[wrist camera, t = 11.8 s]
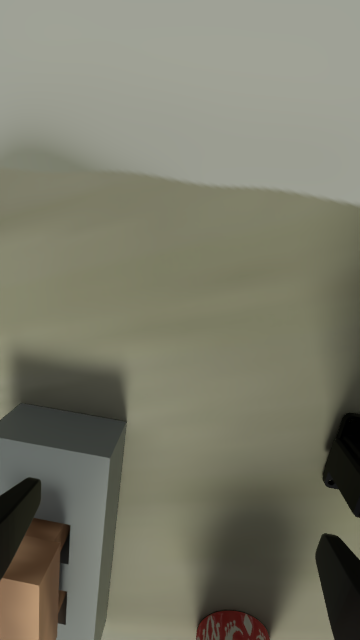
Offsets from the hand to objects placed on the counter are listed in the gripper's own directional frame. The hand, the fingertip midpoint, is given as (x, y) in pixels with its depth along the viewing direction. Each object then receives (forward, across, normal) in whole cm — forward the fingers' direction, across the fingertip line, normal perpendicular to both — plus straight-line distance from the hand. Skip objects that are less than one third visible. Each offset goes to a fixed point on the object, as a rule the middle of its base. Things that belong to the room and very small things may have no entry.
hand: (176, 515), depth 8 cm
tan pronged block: (+11, +9, +18) cm, 23 cm away
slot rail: (+12, +9, +18) cm, 23 cm away
